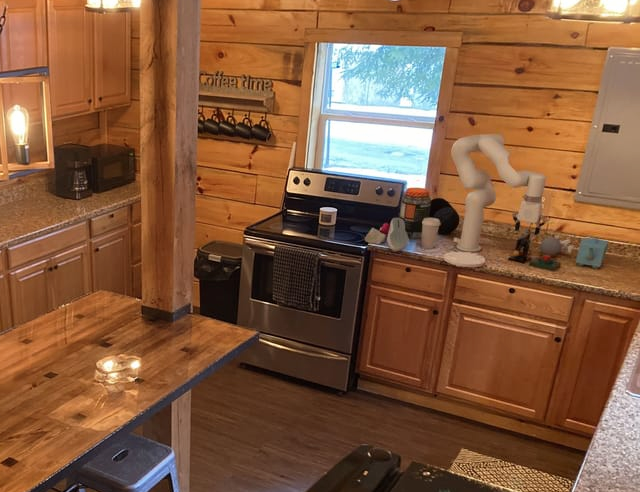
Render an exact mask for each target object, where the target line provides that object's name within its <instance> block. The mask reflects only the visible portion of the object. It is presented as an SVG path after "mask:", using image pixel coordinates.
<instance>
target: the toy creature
mask: <svg viewBox="0 0 640 492" xmlns="http://www.w3.org/2000/svg"><path fill="white" fill-rule="evenodd" d="M559 237H560V235H559V234H557V235H556V236H555V237H554V238H556V239H559ZM559 241H560V243H561V250H560V252H559V253H558V254H564V255H568V254H571V253H572V251H573V250H574V245H571V244H570V243H571V240H570V239H564V240H559ZM569 244H570V245H569Z"/></svg>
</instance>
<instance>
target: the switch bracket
mask: <svg viewBox="0 0 640 492" xmlns="http://www.w3.org/2000/svg"><path fill="white" fill-rule="evenodd" d="M522 239H523V238H519V237H518V238H517V240H516V245H515V248H514V249H515V250H514V251H516V250H517V249H518V248H519V246H520V242H521V240H522ZM530 245H531V238H530V239H529V240H527V241H525V245H524V249H523V252H522V254H521V252H520V251H519V255H518V256H514V255H513V254H512V255H511V256H510V257H508V261H511V262H514V263H519V264H523V265H524V264H526V263H527V262H530V261H531V260H533V257H532V256H529V255H528V251H530Z"/></svg>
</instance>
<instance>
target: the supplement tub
mask: <svg viewBox="0 0 640 492" xmlns="http://www.w3.org/2000/svg"><path fill="white" fill-rule="evenodd" d="M404 193H405V194H404V195H403V196H402V198H401V200H400V201H401V202H400V211H399V218H400V219H402V220H403V221H404V223H405V231H406V233H407V235H408V239H422V226H423V224H422V221H423V220H424V218H429V212H430V206H431V200H432V199H431V197H430V189H427V188H423V187H408V188H406V189H405V192H404Z"/></svg>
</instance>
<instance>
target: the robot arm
mask: <svg viewBox="0 0 640 492" xmlns="http://www.w3.org/2000/svg"><path fill="white" fill-rule="evenodd" d="M450 151H451V152H450V155H451V159H452V161H453V163H454V165H455V167H456V171H457V173H458V177H459V179H460V182H461V184H462V187H463V188H464V189H465V190H473V191H471V192H469V193H468V194H467V196H466V197H465V203H464V204H465V205H464V206H465V210H464V217H463V223H462V228H461V234H460V238H458V237H453V242H454V243H457V244H456V246H455V247H456V248H455V249H456V250H458V251H461V252H468V253H469V252H471V253H477V252H480V251H481V250H482V247H481V246H480V240H481V234H482V229H483V224H484V218H485V217H484V216H485V214H484V212H485V211H484V208H486V207H489V206H492V205H494V203H495V202H496V200H497V194H496V190H495V187H494V185H493V181H492V179H491V177H490V174H489V173H488V172H487V171H486V170H485V169H482V168H478V169H476V166H475V163H474V161H473V159H472V158H471V157H470V156H469V154H470V153H475V152H482V153H483V155H485V156H486V157H487V158H488V159H489V160H490V161H491V162H492V163H493V164H494V165H495V167H496V171H497V173H498V176H499V177H500V179H501V180H502V181H503V182H504V183H505V184H506V185H508V186H509V187H511V188H515V189H516V188H521V187H526V191H525V194H523V195H522V198H523V199H524V200H522V201H521V204H520V206H519V209H518V211H516V212H512V213H511V216H512V220H513V221H514V223H515V225H514V231H515V232H518V231H520V227H521V222H523V223H529V224H531V223H533V224H535V229H534V234H533V235H534V236H537V235H539V234H540V231H541V228H542V227H543V226H544V225H546V223H547V222H548V221H549V220H548V219H547V218H546V217H545V216H544V215H543V202H542V200H543V195H544V191H545V190H544V189H545V185H546V180H547V176H546V174H544V173H539V172H533V171H531V170H527V169H526V170H524V169H523V170H518V171H516V169H514V168H513V167H512V166H511V164H510V162H509V159H510V158H511V153H510V151H509V150H507V149H506V147H505V139H504V137H503V136H502V135H501V134H499V133H487V134H486V133H485V134H474V135H468V136H467V135H466V136H462V137H460V138H458V139H457V140H456V141H455V142H454V143H453V145H452V146H451V150H450ZM541 220H542V221H541Z"/></svg>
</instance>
